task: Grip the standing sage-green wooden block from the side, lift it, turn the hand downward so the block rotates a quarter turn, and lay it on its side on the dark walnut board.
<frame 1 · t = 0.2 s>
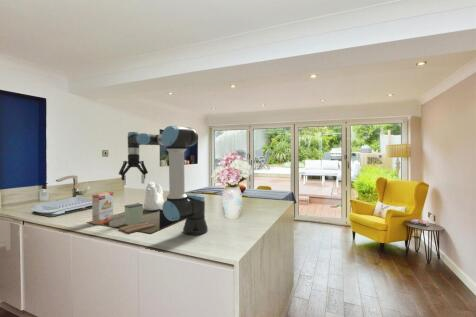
hand: (133, 184, 170), 27 cm above the counter, tool pointing down, fingers open, 13 cm apart
cracker box: (103, 222, 173), on the counter
walnut board: (137, 228, 158), on the counter
decorative rooster: (156, 209, 211), on the counter
sage block: (134, 223, 170), on the counter
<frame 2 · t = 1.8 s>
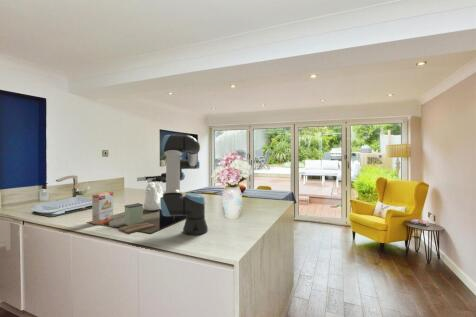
hand: (142, 180, 175), 30 cm above the counter, tool horizontal, fingers open, 13 cm apart
nothing on the counter moved.
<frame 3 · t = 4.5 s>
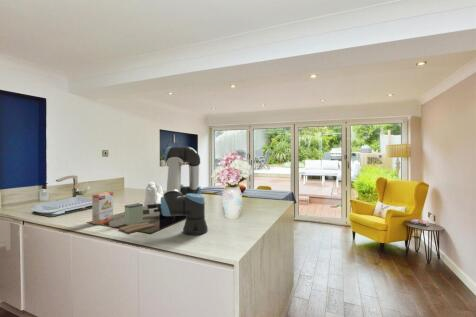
hand: (144, 210, 176), 7 cm above the counter, tool horizontal, fingers open, 13 cm apart
nothing on the counter moved.
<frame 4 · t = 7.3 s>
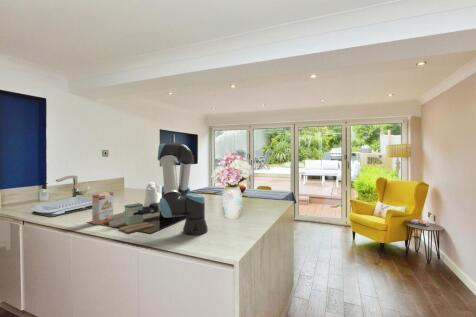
hand: (126, 214, 165), 8 cm above the counter, tool horizontal, fingers closed on sage block, 6 cm apart
sage block: (134, 223, 170), on the counter, touching gripper
everything else where it was.
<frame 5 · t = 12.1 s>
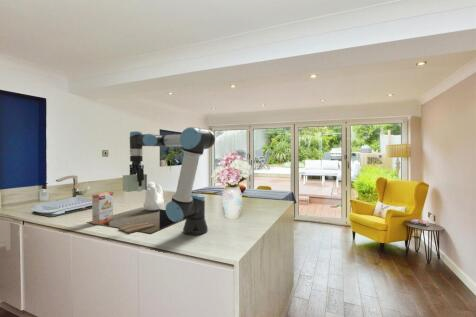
hand: (136, 190, 157), 25 cm above the counter, tool pointing down, fingers closed on sage block, 6 cm apart
sage block: (125, 183, 151), point 30 cm above the counter, tilted 90°, touching gripper
everything else where it was.
when the fingers open (3 cm above the counter, at t = 15.8 s): sage block drops 2 cm, resting on walnut board.
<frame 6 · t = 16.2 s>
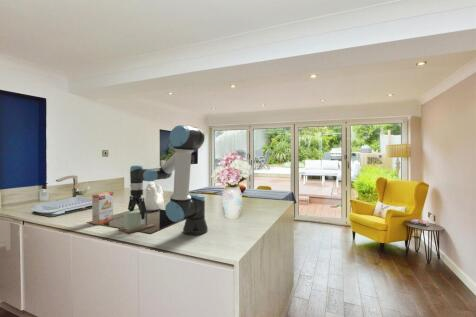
hand: (137, 222, 158), 4 cm above the counter, tool pointing down, fingers open, 11 cm apart
sage block: (125, 221, 152), point 6 cm above the counter, tilted 90°, touching walnut board
everything else where it was.
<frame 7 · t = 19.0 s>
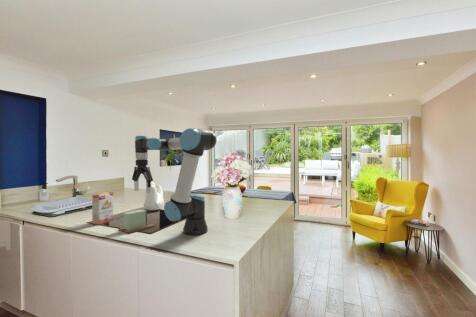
hand: (142, 191, 159), 24 cm above the counter, tool pointing down, fingers open, 13 cm apart
nothing on the counter moved.
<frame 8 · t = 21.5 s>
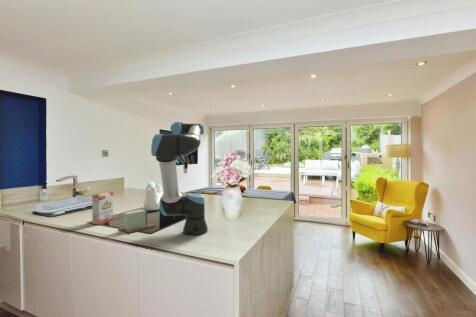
hand: (179, 172, 176), 35 cm above the counter, tool pointing down, fingers open, 13 cm apart
nothing on the counter moved.
at the end: sage block tilted 90°; sage block touching walnut board; the gripper is holding nothing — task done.
